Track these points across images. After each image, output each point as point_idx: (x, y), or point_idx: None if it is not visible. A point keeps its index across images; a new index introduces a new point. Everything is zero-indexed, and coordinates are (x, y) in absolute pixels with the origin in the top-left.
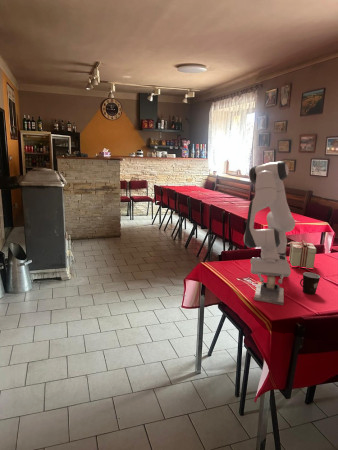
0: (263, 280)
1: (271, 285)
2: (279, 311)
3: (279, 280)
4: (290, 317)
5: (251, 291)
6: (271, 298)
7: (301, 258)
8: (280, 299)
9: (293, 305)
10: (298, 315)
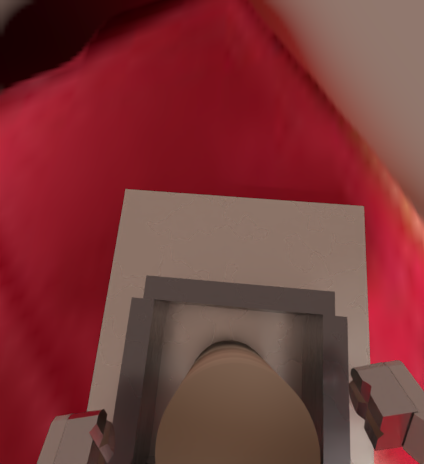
0: (360, 369)
1: (223, 349)
2: (172, 93)
3: (90, 437)
4: (116, 42)
5: None
6: (218, 232)
7: None
8: (142, 240)
9: (52, 226)
10: (59, 83)
